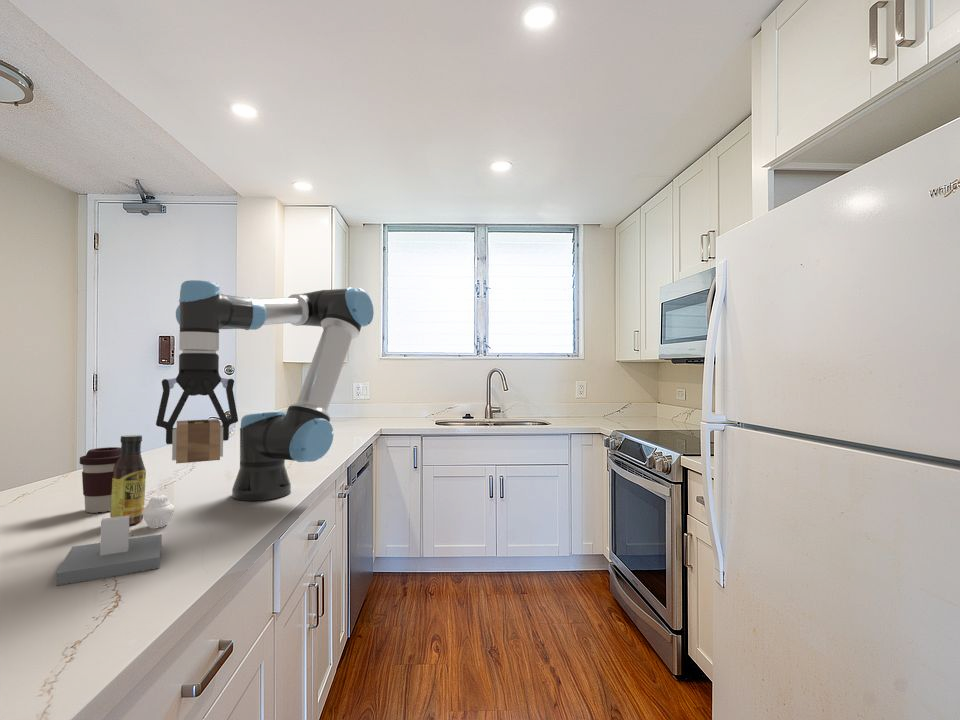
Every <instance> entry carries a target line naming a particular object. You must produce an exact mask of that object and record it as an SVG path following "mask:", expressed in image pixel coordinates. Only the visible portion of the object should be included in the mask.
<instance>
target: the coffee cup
mask: <svg viewBox="0 0 960 720" xmlns="http://www.w3.org/2000/svg"><path fill="white" fill-rule="evenodd" d="M120 453H121V447H116V446H115V447H113V446H109V447H108V446H107V447H97V448H92V449H89V450H87V453H86V455H83V456H80V457H79V464H80V465H81V466H82V472H81V476H82V477H81V478H82V494H83V496H84V510H85V512H86V513H88V512H89V514H90V513H91V514H99V513H98V512H102V513H107V511H109V512H111V495H112V478H113V469H114V466H115V463H116V462H117V460H118V459H119V458H120V456H121V455H120Z"/></svg>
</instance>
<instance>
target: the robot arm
mask: <svg viewBox="0 0 960 720" xmlns="http://www.w3.org/2000/svg"><path fill="white" fill-rule="evenodd" d="M220 288H221V287H220V284H218V283H216V282H214V281H209V280H201V279H199V280H196V279H193V280H192V279H191V280H185V281H183V282H182V283H181V284H180V290H179V300H178V302H179V304H178V306H177V307H176V310H175V319H176V321H177V323H178V325H179V332H178V333H179V334H178V335H179V336H178V337H179V341H178V343H179V344H178V349H179V351H181V353H179V355H178V374H177V376H176V378H175V377H174V378H164V379H162V381H161V385H162V394H161V399H160V404H159V409H158V413H157V417H156V422H155V425H156V427H160V428H162V429H163V428H164V429H165V443H166V445H172V446H171V447H172V448H171V450H172V452H171V453H172V454H171V460H172V461H176V439H177V427H174V426H175V423H177V421H178V418H179V416H180V415H181V411H182V410H183V408H184V406H185V404H186V403H187V400H188V398H190V397H191V396H192V397H193V396H208V397H209V399H210V401H211V403H212V405H213V407H214V409H215V411H216V413H217V416H218V418H219V419H220V420H219V421H220V423H221V425H220V458H221V457H222V458H223V457H224V441H229V438H230V437H229V436H230V426H231V425H233V424H236V423H238V422H239V417H238V412H237V406H236V401H235V395H234V394H235V393H234V389H233V388H234V385H235V380H234V379H233V378H224V377H221V375H220V372H219V370H220V369H219V368H220V367H219V366H220V363H219V362H220V359H219V357H220V355H219V354H218V353H217V352H219V350H220V330H245V331H249V330H250V331H252V330H259V329H260V328H262V327H263V326H267V325H268V326H269V325H281V324H282V325H283V324H291V325H292V326H295V327H296V326H306V327H308V326H310V327H321V328H322V333H321V334H320V338H319V341H318V344H317V347H316V349H315V352H314V354H313V357H312V360H311V363H310V365H309V367H308V368H309V369H308V371H307V373H306V376H305V378H304V380H303V381H304V382H303V384H302V387H301V389H300V392H299V395H298V398H297V400H296V401H295V403H293V404H290V405H289V406H288V407H287V410H286V412H285V411H284V410H276V411H268V412H267V411H266V412H259V413H250V414H245V415H243V416H242V417H241V418H240V428H239V470H238V472H237V474H236V477H235V480H234V483H233V486H232V490H231V497H232V499H234V500H238V501H243V502H246V501H248V502H250V501H253V502H255V501H267V500H274V499H278V498H282V497H285V496H288V495H289V494H291V492H292V491H291V490H292V489H291V488H292V487H291V485H292V484H291V481H290V478H289V475H288V472H287V470H286V465H285V463H286V461H295V462H297V463H306V462H308V463H309V462H311V463H312V462H316V461H319V459H322V458H323V457H324V456H325V455H326V454H328V452H329V450H330V449H331V446H332V444H333V440H334V432H333V431H334V427H333V426H332V424H331V423H330V421H331V416H330V415H329V412H328V410H329V407H330V404H331V402H332V398H333V396H334V392H335V389H336V386H337V383H338V380H339V378H340V375H341V372H342V370H343V369H342V368H343V366H344V363H345V360H346V356H347V354H348V351H349V348H350V346H351V342H352V341H353V339H356V338H358V337H359V335H360V332H361V328H362V327H367V326H368V325H371V323H372V321H373V318H374V310H375V309H374V305H373V301H372V299H371V297H370V295H369V294H368V292H367V291H366V290H364V289H362V288H359V287H347V288H336V289H335V288H334V289H321V290H315V291H311V292H306V293H305V292H304V293H298V294H297V293H294V294H291V295H289V296H287V297H268V298H267V297H265V298H263V297H261V298H260V297H259V298H255V297H253V298H252V297H244V296H235V295H230V294H229V295H228V294H223V293H221V291H220ZM176 383H177V384H178V385H179V386H180V388H181V389H182V390H183V392H182V393H181V395H180V398H179V400H178V402H177V403H176V406H175V407H174V409H173V411H172V413H171V414H170V417H169V419H168V421H165V420H164V419H165V416H166V412H167V406H168V402H169V398H170V395H171V394H170V393H171V390H172V389H173V388H174V387H175V384H176ZM220 383H222V388H224V389H225V393H226V394H225V395H226V398H227V403H228V404H227V405H228V410H229V414H230V417H229V418H227V416H226V414H225V412H224V409H223V407H222V404H221V403H220V401H219V399H218V397H217V395H216V393H215V390H216V388H217V386H218V385H219V384H220ZM189 396H190V397H189Z"/></svg>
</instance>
